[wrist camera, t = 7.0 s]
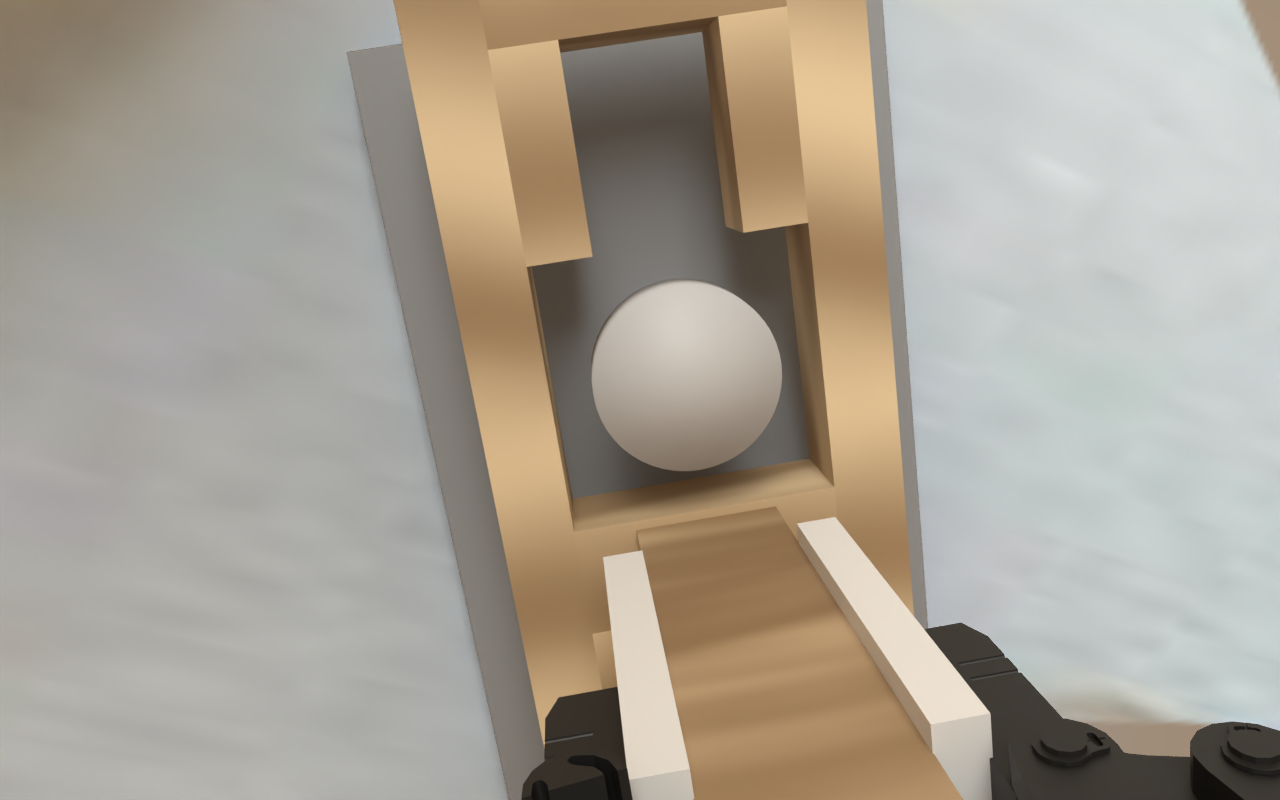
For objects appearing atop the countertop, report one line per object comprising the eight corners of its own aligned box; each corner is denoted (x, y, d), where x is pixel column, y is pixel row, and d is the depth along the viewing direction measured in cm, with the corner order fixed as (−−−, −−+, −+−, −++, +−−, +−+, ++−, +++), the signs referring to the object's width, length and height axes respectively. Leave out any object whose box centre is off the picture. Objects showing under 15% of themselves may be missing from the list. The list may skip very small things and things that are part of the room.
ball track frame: (409, 10, 18) (150, -264, 7) (829, -50, 19) (1269, -409, 7) (598, 966, 24) (633, 1690, 13) (912, 906, 25) (1221, 1555, 13)
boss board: (358, 58, 21) (293, 23, 16) (863, -16, 22) (959, -74, 16) (556, 981, 28) (555, 1166, 23) (934, 907, 29) (1018, 1072, 23)
